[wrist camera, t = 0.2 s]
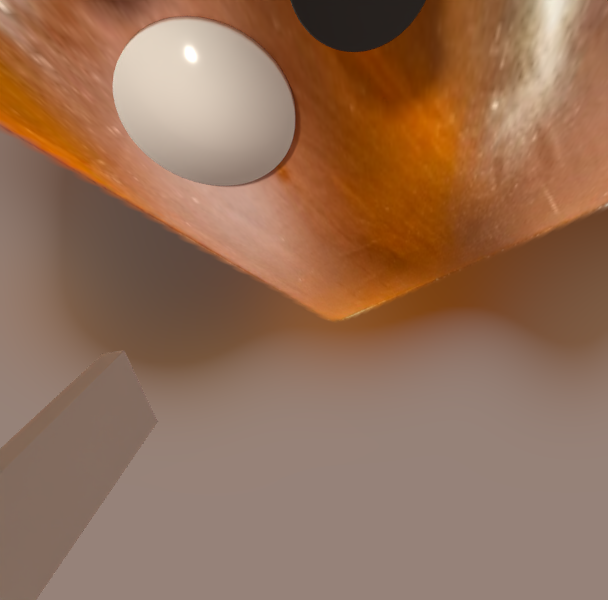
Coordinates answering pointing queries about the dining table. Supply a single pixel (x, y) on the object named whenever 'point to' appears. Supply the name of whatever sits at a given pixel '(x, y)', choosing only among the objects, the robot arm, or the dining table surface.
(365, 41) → the jar
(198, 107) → the saucer
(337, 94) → the dining table surface
